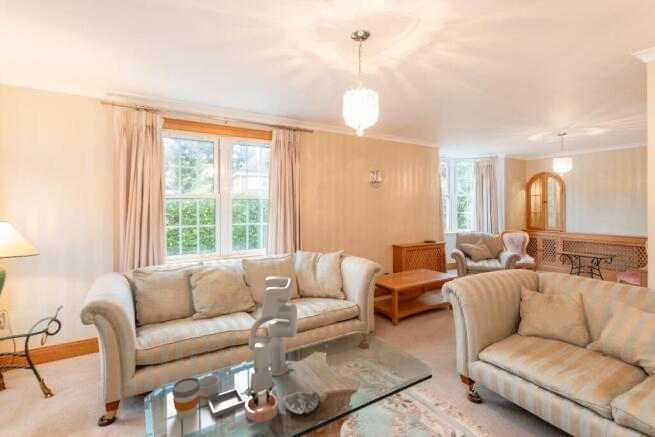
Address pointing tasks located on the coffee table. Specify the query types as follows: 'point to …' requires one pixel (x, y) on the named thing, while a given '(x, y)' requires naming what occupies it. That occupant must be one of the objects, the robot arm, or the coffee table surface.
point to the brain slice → (301, 402)
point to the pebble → (262, 398)
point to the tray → (225, 402)
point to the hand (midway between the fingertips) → (261, 401)
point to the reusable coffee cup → (186, 397)
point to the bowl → (261, 409)
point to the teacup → (209, 386)
